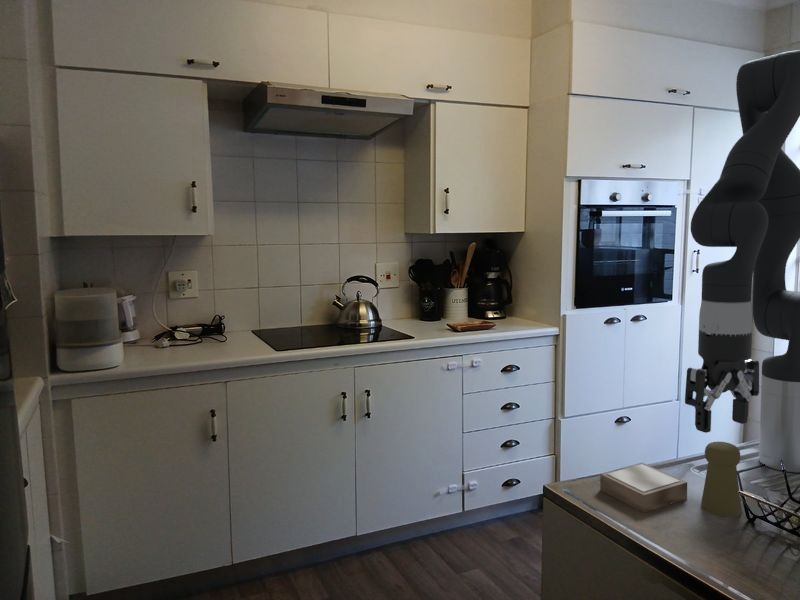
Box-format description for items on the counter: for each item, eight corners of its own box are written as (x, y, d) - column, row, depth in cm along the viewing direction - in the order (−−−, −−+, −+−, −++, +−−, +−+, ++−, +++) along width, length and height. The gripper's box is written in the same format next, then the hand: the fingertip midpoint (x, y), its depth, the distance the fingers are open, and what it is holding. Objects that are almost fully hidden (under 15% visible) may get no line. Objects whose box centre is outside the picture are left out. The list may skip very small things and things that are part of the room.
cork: (738, 520, 97) (740, 453, 96) (697, 510, 101) (698, 446, 100) (744, 505, 102) (746, 441, 101) (705, 496, 106) (706, 435, 104)
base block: (641, 477, 114) (641, 461, 114) (686, 498, 105) (687, 481, 105) (600, 489, 110) (600, 473, 110) (643, 512, 101) (643, 494, 101)
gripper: (734, 321, 104) (730, 413, 106) (673, 329, 98) (670, 427, 100) (777, 327, 97) (772, 426, 99) (714, 336, 92) (711, 441, 93)
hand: (721, 426), depth 100 cm, fingers open, 8 cm apart
